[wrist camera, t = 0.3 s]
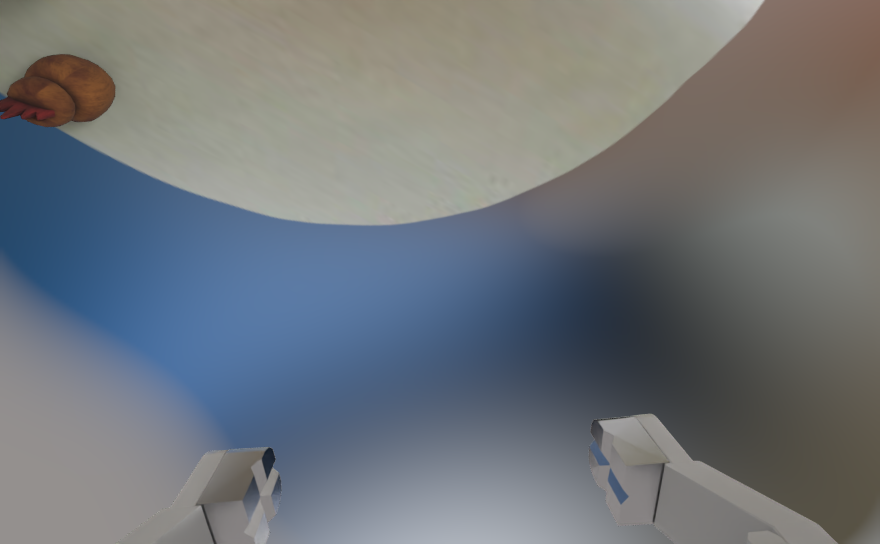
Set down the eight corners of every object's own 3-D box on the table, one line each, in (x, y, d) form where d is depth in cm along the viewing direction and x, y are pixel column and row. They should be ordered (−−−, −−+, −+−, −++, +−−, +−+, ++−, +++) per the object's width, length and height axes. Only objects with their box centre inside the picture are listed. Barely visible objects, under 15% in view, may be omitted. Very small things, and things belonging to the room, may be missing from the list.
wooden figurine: (54, 78, 50) (-51, 120, 38) (69, 38, 47) (-38, 69, 36) (115, 116, 53) (37, 165, 41) (132, 80, 50) (54, 122, 39)
